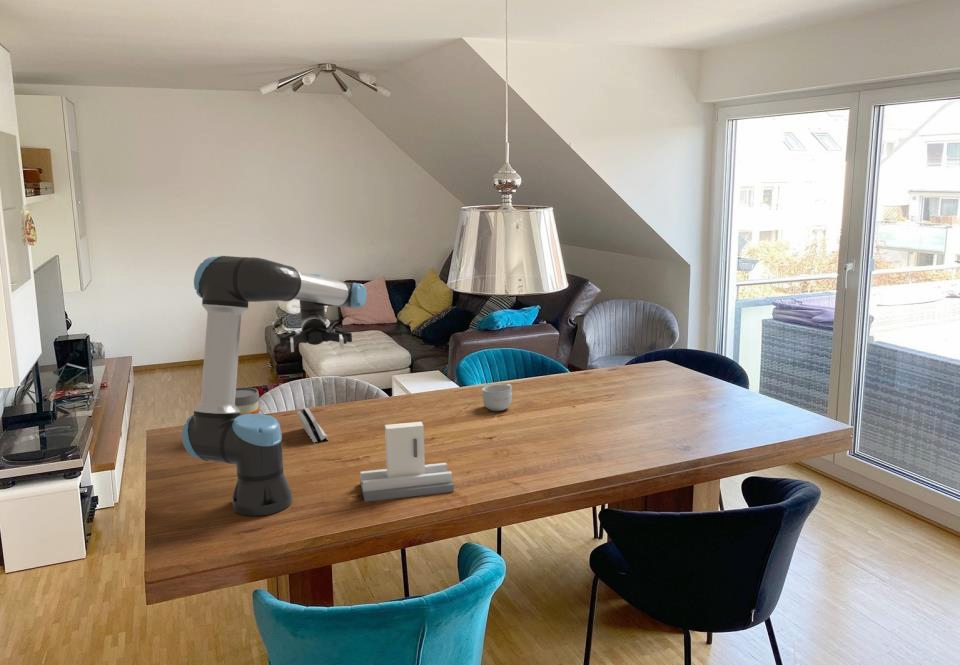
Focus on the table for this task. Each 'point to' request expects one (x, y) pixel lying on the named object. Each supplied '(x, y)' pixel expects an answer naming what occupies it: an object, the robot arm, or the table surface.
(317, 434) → the white and black console
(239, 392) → the reusable coffee cup
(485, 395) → the teacup
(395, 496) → the track
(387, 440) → the door panel
